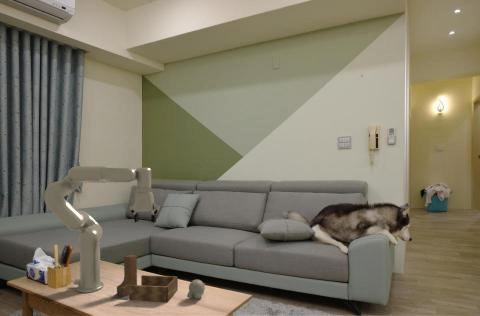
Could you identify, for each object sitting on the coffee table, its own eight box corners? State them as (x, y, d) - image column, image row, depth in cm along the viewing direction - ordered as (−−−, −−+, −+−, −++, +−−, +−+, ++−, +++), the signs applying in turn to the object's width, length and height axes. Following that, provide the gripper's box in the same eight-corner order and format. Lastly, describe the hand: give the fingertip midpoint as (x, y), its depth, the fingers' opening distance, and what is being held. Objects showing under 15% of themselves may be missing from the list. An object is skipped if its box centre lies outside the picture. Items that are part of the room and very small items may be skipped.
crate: (129, 300, 152) (129, 285, 152) (142, 288, 166) (142, 275, 166) (167, 302, 149) (167, 287, 149) (177, 290, 163) (177, 276, 163)
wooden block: (122, 297, 154) (122, 260, 154) (116, 295, 157) (116, 258, 157) (137, 291, 162) (137, 255, 162) (131, 289, 164) (130, 254, 165)
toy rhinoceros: (208, 299, 157) (211, 281, 161) (197, 299, 147) (201, 280, 150) (195, 297, 160) (198, 279, 163) (184, 297, 150) (187, 278, 153)
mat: (110, 298, 154) (110, 298, 154) (123, 288, 166) (123, 288, 166) (128, 299, 153) (128, 298, 153) (139, 289, 165) (139, 288, 165)
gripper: (126, 191, 172) (126, 223, 172) (156, 191, 169) (157, 223, 169) (133, 189, 179) (133, 220, 179) (162, 189, 176) (162, 220, 176)
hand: (145, 221), depth 174 cm, fingers open, 9 cm apart
